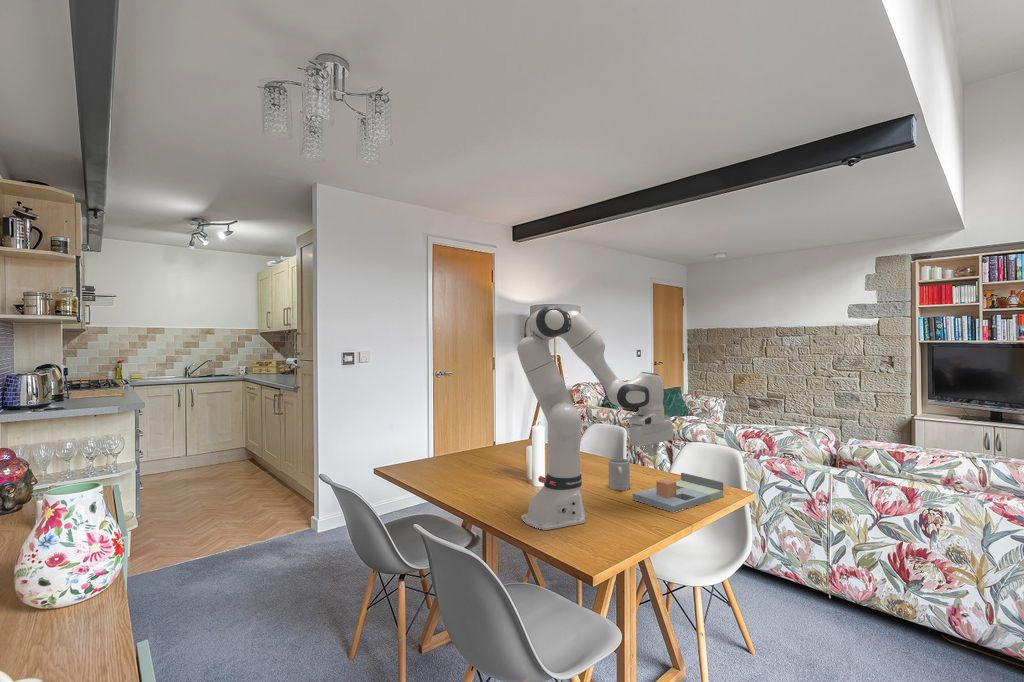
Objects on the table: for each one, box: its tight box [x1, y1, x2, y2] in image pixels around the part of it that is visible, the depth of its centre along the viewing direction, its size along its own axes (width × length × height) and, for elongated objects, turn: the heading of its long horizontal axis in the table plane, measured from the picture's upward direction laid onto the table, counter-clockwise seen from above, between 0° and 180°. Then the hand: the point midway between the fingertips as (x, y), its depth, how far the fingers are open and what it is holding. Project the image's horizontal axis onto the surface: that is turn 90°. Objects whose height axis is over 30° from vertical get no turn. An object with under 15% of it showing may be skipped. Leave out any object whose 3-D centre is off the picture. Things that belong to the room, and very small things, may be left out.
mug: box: [607, 457, 631, 491], centre depth 194 cm, size 12×8×11 cm
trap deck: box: [632, 472, 724, 513], centre depth 180 cm, size 30×18×6 cm, turn 125°
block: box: [655, 478, 677, 498], centre depth 176 cm, size 5×5×5 cm
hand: (652, 455), depth 172 cm, fingers closed
